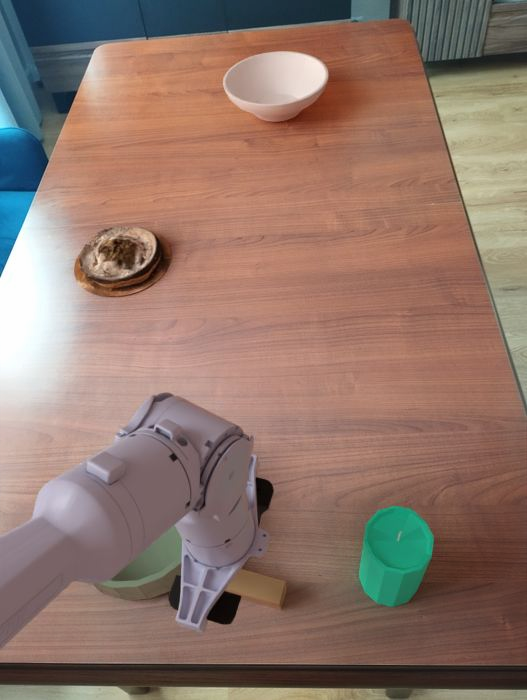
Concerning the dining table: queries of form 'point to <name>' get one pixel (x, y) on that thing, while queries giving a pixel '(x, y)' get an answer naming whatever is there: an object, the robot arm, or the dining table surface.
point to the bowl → (276, 84)
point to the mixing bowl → (148, 570)
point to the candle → (394, 555)
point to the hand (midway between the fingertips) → (234, 566)
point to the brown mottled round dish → (122, 261)
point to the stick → (258, 588)
